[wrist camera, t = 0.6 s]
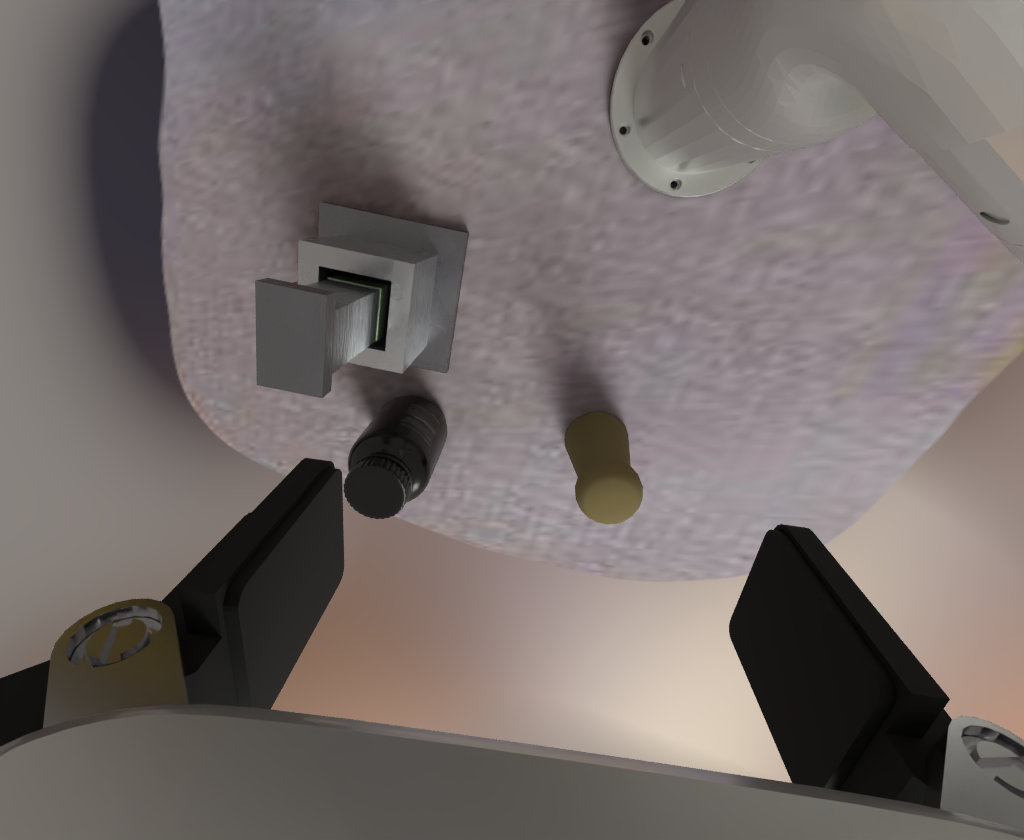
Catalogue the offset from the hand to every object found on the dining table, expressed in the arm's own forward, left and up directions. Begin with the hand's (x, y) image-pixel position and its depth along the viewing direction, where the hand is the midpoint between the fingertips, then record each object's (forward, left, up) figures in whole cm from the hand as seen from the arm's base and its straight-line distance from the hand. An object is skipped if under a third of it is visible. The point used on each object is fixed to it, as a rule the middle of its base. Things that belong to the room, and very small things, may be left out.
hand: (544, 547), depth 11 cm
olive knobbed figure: (+12, +8, -34) cm, 37 cm away
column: (+2, -13, -32) cm, 35 cm away
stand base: (+2, -13, -34) cm, 36 cm away
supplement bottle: (+14, -10, -34) cm, 38 cm away
